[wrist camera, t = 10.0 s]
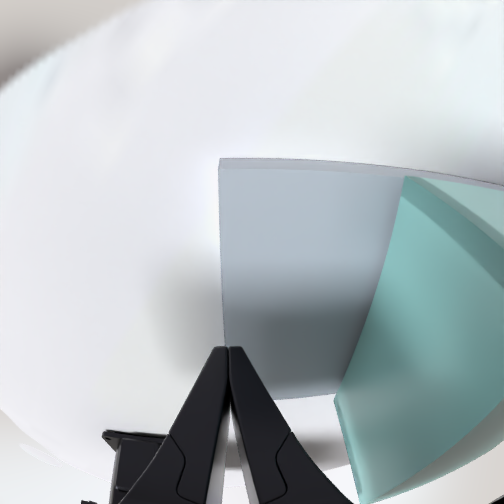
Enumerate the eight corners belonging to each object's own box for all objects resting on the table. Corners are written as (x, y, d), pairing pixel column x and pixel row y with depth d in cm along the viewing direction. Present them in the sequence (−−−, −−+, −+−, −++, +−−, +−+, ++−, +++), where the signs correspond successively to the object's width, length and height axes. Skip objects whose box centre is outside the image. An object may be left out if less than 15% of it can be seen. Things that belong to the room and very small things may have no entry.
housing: (455, 371, 13) (493, 448, 8) (333, 400, 13) (360, 506, 8) (538, 199, 8) (628, 275, 3) (404, 175, 7) (565, 313, 2)
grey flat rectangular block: (535, 322, 15) (550, 343, 13) (228, 381, 14) (229, 429, 11) (584, 209, 10) (607, 227, 8) (220, 158, 8) (215, 188, 6)
